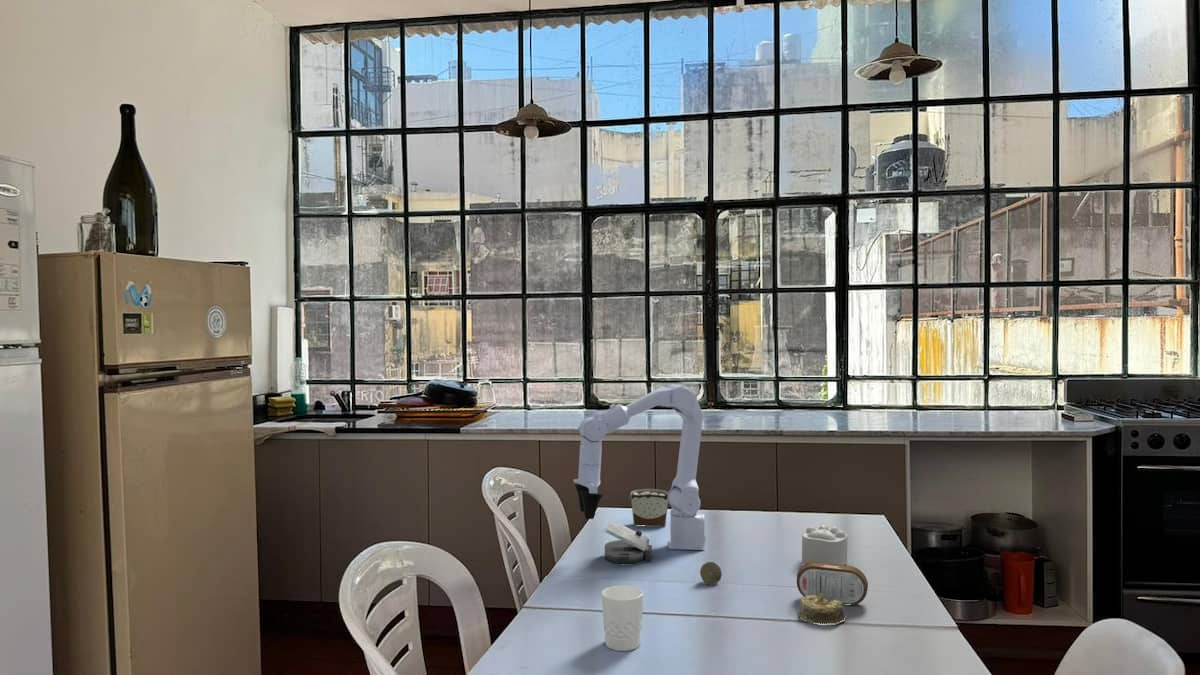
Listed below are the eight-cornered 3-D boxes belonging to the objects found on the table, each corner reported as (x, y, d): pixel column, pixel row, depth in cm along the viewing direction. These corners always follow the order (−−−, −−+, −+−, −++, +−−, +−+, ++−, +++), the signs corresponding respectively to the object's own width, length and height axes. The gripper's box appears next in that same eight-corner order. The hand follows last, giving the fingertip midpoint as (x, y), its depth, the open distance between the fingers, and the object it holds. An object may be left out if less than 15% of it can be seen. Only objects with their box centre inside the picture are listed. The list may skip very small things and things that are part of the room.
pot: (652, 549, 212) (652, 537, 211) (650, 569, 195) (650, 556, 195) (607, 547, 213) (607, 536, 213) (601, 567, 196) (601, 555, 196)
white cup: (600, 636, 155) (600, 586, 154) (640, 634, 155) (640, 584, 155) (604, 653, 147) (603, 600, 146) (645, 652, 147) (645, 599, 147)
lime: (723, 582, 185) (723, 561, 185) (711, 588, 182) (711, 566, 182) (708, 578, 188) (708, 557, 188) (696, 583, 185) (696, 562, 185)
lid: (648, 541, 208) (651, 535, 208) (647, 552, 198) (650, 547, 198) (609, 521, 209) (611, 516, 209) (605, 532, 199) (608, 526, 199)
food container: (670, 521, 240) (670, 488, 239) (670, 526, 234) (670, 493, 233) (630, 520, 241) (630, 488, 241) (628, 525, 235) (628, 492, 235)
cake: (838, 633, 158) (838, 608, 157) (790, 624, 163) (789, 599, 162) (851, 613, 166) (850, 589, 165) (804, 605, 171) (804, 581, 171)
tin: (867, 604, 171) (868, 565, 171) (867, 609, 168) (868, 570, 168) (796, 596, 176) (797, 559, 176) (795, 601, 173) (795, 563, 173)
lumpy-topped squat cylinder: (797, 565, 198) (798, 531, 198) (812, 551, 209) (812, 519, 209) (839, 572, 193) (839, 537, 192) (852, 558, 204) (852, 524, 203)
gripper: (570, 458, 213) (567, 508, 213) (579, 468, 199) (576, 521, 199) (596, 459, 215) (593, 508, 215) (606, 469, 200) (603, 522, 201)
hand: (586, 515), depth 207 cm, fingers open, 7 cm apart
